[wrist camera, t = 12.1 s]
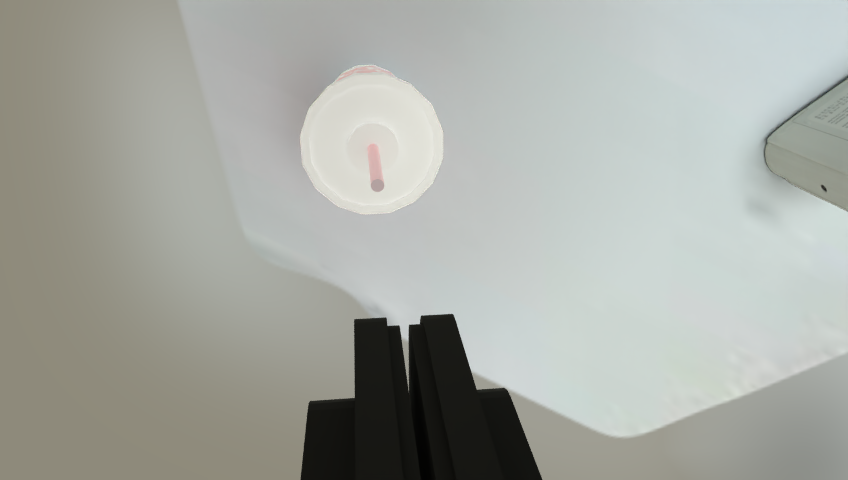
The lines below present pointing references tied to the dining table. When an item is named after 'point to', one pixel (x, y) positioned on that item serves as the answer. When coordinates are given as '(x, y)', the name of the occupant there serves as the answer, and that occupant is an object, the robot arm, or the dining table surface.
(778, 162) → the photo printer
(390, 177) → the beverage cup
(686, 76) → the dining table surface
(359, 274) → the dining table surface
